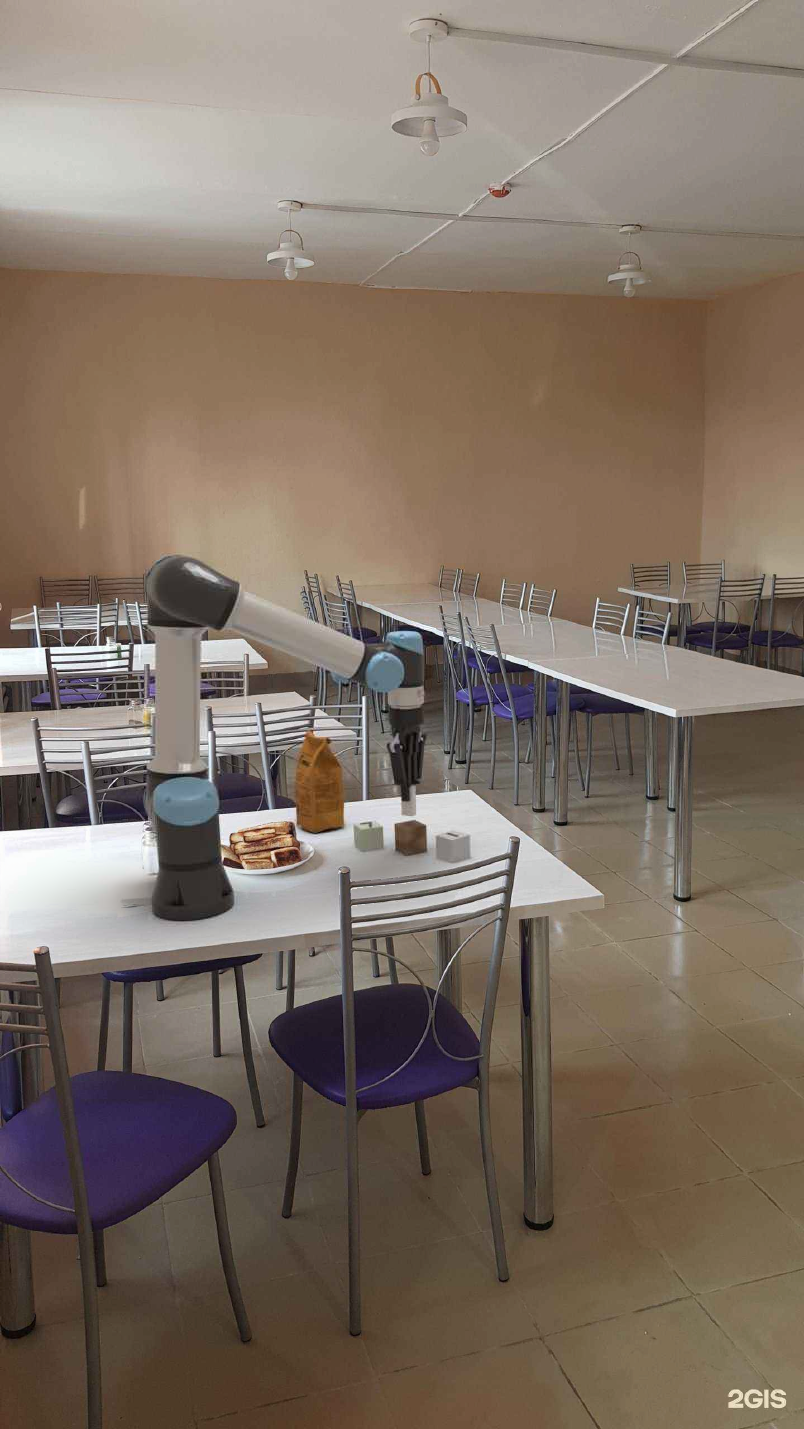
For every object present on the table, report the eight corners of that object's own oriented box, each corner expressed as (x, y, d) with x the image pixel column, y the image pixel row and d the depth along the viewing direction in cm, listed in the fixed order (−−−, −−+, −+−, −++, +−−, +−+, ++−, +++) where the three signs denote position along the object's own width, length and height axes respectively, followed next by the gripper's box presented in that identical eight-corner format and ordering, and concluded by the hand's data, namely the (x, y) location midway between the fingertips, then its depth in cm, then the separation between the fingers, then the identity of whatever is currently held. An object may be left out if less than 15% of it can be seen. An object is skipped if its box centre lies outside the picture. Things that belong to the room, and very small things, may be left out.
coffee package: (329, 816, 256) (325, 727, 252) (349, 829, 245) (345, 735, 241) (290, 822, 252) (285, 731, 248) (309, 835, 240) (304, 741, 236)
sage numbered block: (361, 852, 228) (360, 829, 227) (354, 845, 232) (353, 823, 231) (383, 848, 230) (382, 825, 229) (375, 842, 234) (375, 820, 233)
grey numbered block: (452, 863, 218) (451, 839, 217) (436, 858, 222) (435, 834, 221) (470, 858, 221) (469, 834, 220) (454, 852, 225) (453, 829, 224)
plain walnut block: (406, 856, 224) (405, 829, 223) (395, 850, 228) (394, 823, 227) (427, 852, 226) (426, 825, 225) (415, 846, 230) (414, 819, 229)
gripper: (405, 712, 214) (408, 824, 218) (437, 701, 225) (439, 809, 229) (374, 709, 218) (377, 820, 222) (406, 699, 229) (409, 805, 233)
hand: (408, 814), depth 225 cm, fingers closed
